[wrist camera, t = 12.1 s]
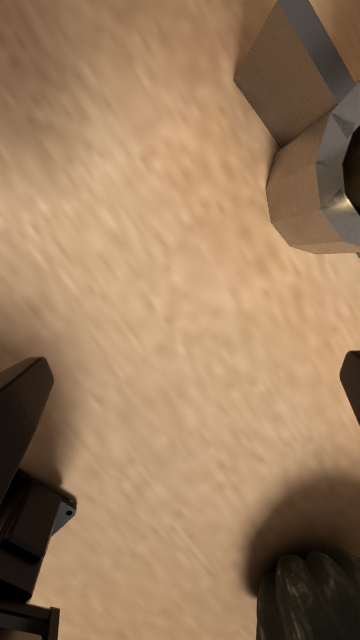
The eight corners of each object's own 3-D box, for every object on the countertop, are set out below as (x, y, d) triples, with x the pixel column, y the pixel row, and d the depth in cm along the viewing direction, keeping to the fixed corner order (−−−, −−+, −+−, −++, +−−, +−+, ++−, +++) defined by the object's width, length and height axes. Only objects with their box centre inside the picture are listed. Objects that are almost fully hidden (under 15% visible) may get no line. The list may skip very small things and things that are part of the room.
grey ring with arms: (421, 241, 21) (508, 236, 16) (347, 317, 21) (409, 334, 16) (288, 19, 15) (357, -89, 11) (193, 125, 16) (218, 66, 11)
